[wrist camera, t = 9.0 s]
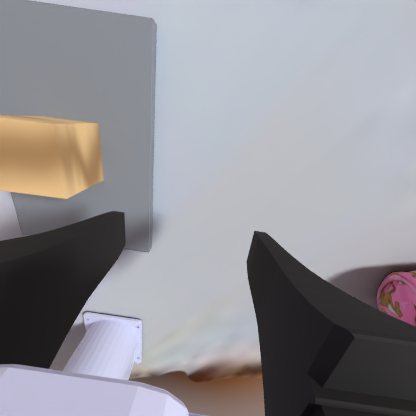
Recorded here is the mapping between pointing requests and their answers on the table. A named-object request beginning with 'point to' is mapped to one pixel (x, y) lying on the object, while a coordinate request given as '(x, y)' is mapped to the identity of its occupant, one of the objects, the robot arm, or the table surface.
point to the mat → (85, 104)
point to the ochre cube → (48, 155)
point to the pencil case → (399, 296)
